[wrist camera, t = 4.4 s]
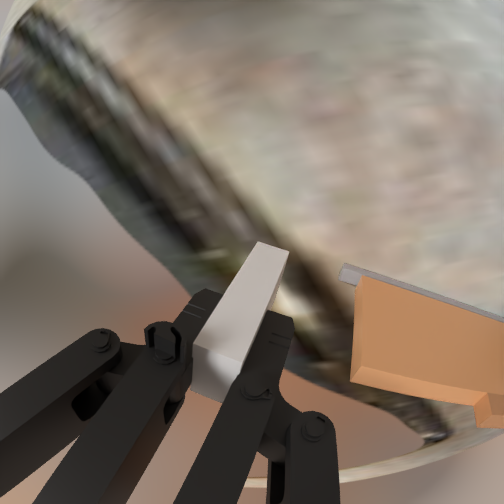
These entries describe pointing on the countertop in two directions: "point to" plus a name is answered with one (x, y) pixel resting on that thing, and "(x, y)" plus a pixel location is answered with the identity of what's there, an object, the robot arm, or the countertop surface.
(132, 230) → the countertop surface
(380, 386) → the lid panel
